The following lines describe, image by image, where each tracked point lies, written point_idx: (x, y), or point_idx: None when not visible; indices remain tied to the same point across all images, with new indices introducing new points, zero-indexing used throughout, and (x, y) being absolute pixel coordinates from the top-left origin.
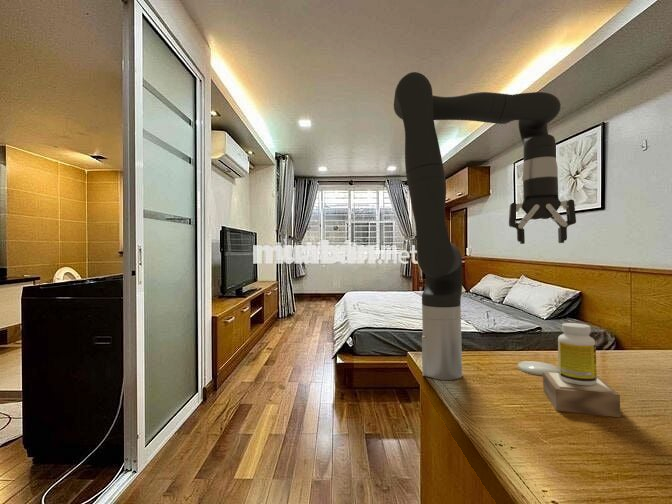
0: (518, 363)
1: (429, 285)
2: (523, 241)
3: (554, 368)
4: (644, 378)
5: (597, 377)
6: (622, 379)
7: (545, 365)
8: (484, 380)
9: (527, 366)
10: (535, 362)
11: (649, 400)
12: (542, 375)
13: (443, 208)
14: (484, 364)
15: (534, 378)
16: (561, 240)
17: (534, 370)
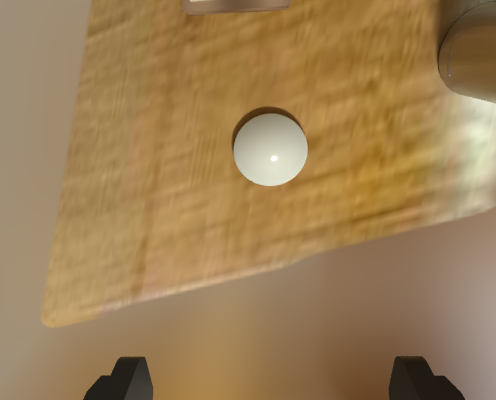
0: (304, 161)
1: None
2: (413, 365)
3: (241, 147)
4: (97, 154)
5: (185, 2)
6: (133, 136)
7: (254, 163)
8: (394, 38)
9: (291, 145)
10: (270, 178)
11: (112, 23)
12: (269, 113)
13: None
14: (371, 154)
15: (287, 89)
16: (133, 365)
17: (282, 121)
